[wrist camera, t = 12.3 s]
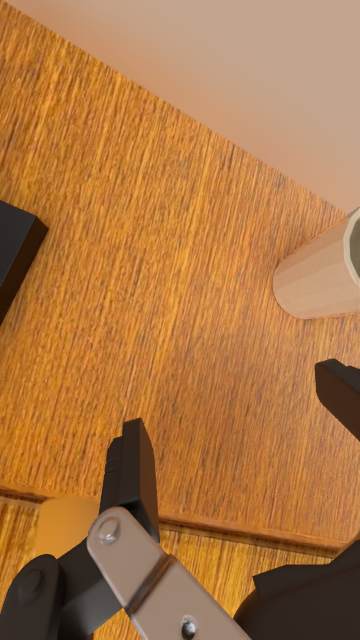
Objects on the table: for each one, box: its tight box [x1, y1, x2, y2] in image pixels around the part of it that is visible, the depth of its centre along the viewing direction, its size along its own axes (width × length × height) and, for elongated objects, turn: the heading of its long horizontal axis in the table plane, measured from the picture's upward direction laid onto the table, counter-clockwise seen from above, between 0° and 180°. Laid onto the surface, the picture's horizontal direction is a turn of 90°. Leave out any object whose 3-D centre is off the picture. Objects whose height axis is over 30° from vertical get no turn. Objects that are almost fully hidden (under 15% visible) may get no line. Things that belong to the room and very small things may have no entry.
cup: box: [272, 207, 360, 320], centre depth 21 cm, size 7×7×10 cm
